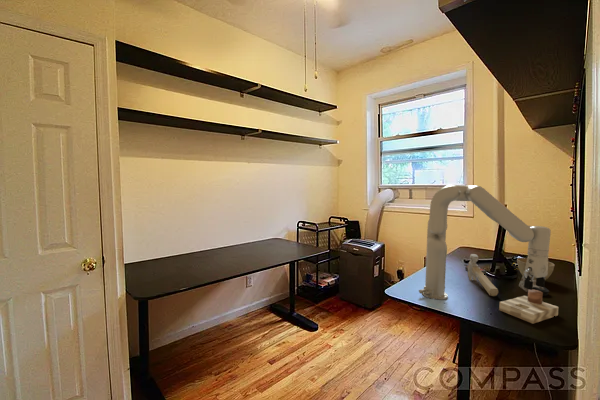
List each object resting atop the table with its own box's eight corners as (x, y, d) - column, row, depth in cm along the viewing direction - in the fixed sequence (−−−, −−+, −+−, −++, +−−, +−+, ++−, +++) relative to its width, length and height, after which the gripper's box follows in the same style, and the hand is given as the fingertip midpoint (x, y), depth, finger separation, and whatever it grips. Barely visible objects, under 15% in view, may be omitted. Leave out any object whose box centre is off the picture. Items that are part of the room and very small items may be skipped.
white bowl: (549, 288, 166) (551, 267, 165) (512, 279, 180) (513, 260, 179) (555, 281, 177) (557, 262, 176) (520, 273, 191) (521, 256, 190)
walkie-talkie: (490, 275, 188) (465, 266, 208) (491, 268, 188) (465, 260, 207) (480, 276, 186) (456, 267, 205) (481, 269, 186) (456, 261, 205)
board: (532, 323, 123) (533, 314, 123) (499, 310, 136) (499, 302, 135) (557, 315, 131) (558, 306, 131) (523, 303, 144) (524, 295, 143)
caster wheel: (549, 300, 154) (531, 297, 154) (534, 288, 165) (517, 285, 165) (554, 289, 153) (536, 286, 152) (538, 278, 163) (521, 275, 163)
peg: (537, 313, 132) (538, 294, 131) (524, 308, 137) (525, 290, 136) (544, 311, 134) (545, 292, 133) (530, 306, 139) (532, 288, 138)
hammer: (501, 280, 149) (477, 253, 177) (491, 279, 150) (469, 253, 178) (496, 305, 154) (473, 276, 182) (486, 305, 154) (465, 275, 183)
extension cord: (526, 267, 209) (527, 264, 208) (522, 271, 198) (522, 268, 198) (506, 263, 218) (506, 261, 217) (501, 267, 207) (501, 264, 207)
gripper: (536, 255, 127) (532, 293, 128) (557, 253, 134) (553, 288, 135) (518, 251, 133) (514, 286, 135) (538, 249, 140) (535, 282, 142)
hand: (534, 287), depth 135 cm, fingers open, 9 cm apart
